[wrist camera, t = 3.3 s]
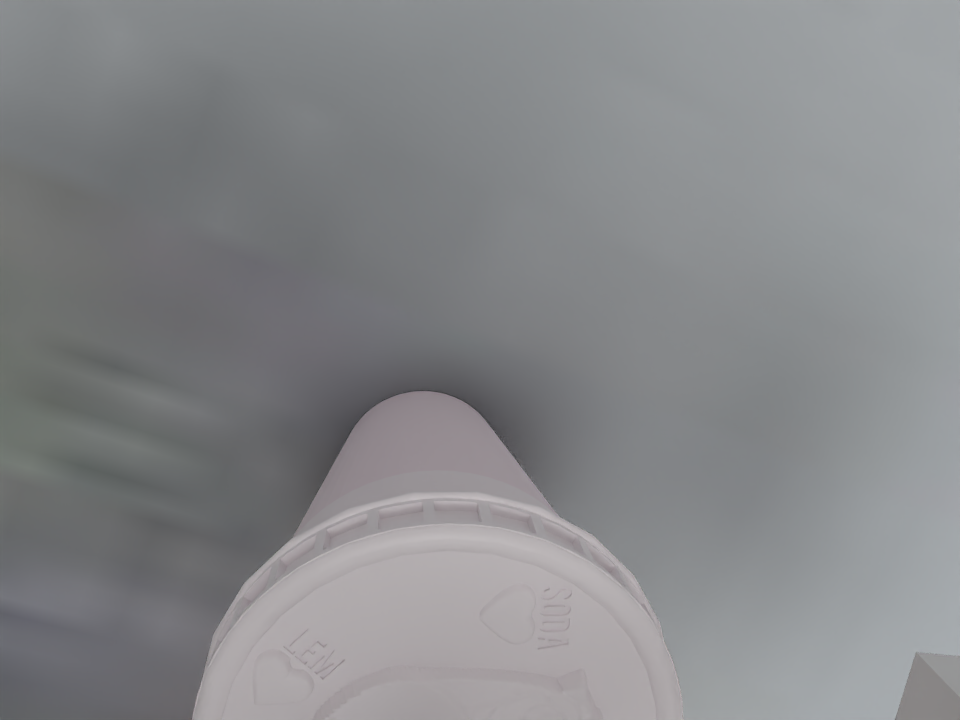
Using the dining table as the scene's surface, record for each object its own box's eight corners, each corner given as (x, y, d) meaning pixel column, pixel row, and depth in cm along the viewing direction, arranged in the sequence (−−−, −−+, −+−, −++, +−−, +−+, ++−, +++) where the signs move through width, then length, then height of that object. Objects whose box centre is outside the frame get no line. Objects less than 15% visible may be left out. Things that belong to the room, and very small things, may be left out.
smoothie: (235, 394, 19) (-128, 999, 6) (503, 290, 19) (744, 661, 6) (348, 628, 21) (263, 1499, 8) (594, 532, 21) (939, 1242, 8)
